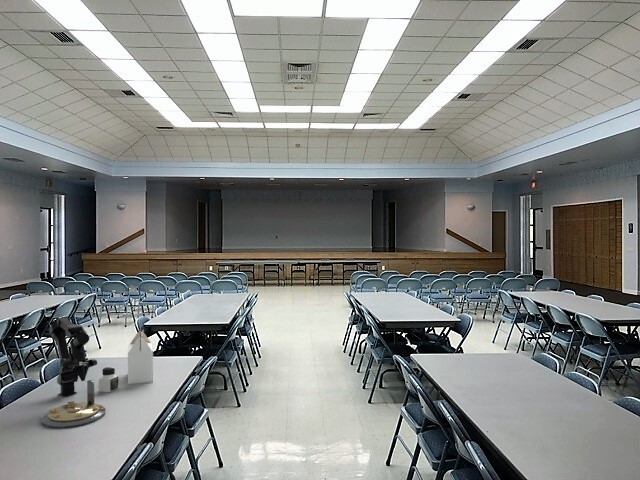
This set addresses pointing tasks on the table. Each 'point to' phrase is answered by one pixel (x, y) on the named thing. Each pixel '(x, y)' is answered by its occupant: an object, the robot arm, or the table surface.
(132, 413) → the table surface
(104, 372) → the medicine bottle
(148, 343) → the gable box
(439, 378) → the table surface
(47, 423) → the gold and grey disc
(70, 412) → the gold wheel with handle
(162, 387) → the table surface
